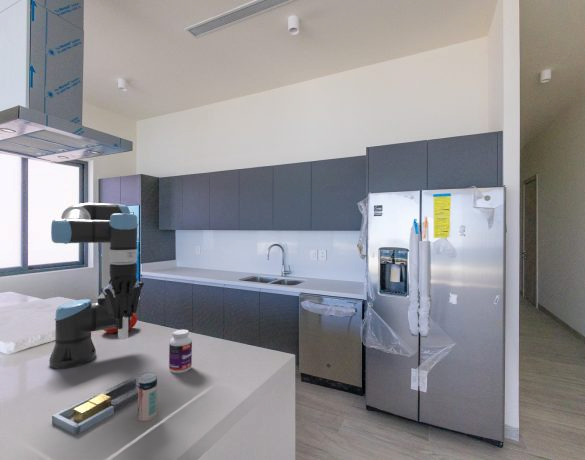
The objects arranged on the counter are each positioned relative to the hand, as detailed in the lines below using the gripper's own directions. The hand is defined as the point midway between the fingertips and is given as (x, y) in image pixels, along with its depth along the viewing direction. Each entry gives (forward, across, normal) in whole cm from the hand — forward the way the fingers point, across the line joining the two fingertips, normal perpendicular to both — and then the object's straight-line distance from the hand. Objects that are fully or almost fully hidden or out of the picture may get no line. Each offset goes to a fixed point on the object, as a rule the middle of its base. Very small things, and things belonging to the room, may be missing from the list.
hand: (123, 337), depth 94 cm
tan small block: (+19, -11, 0) cm, 22 cm away
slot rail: (+19, 0, 0) cm, 19 cm away
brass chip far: (+19, -7, 0) cm, 20 cm away
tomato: (+20, +39, +58) cm, 73 cm away
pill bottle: (+19, +22, -2) cm, 30 cm away
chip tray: (+19, -11, 0) cm, 22 cm away
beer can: (+19, -3, -15) cm, 25 cm away
